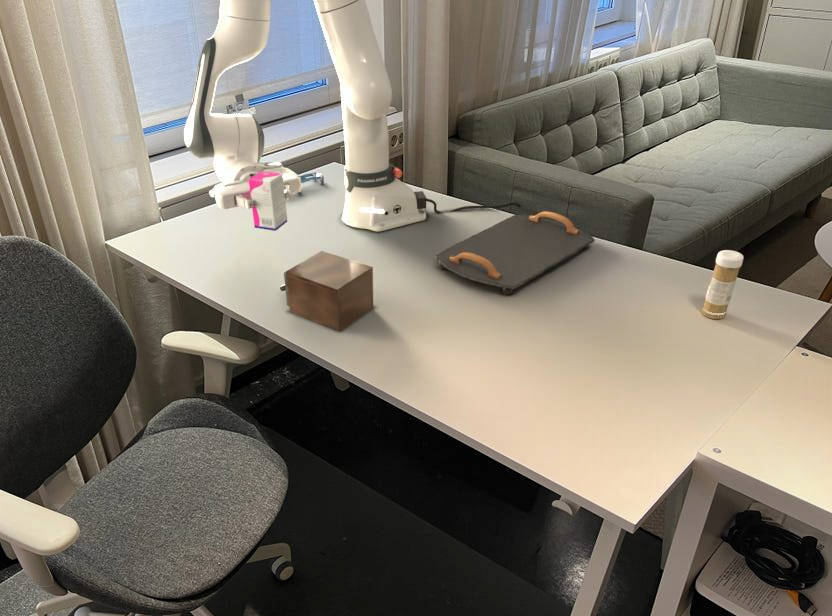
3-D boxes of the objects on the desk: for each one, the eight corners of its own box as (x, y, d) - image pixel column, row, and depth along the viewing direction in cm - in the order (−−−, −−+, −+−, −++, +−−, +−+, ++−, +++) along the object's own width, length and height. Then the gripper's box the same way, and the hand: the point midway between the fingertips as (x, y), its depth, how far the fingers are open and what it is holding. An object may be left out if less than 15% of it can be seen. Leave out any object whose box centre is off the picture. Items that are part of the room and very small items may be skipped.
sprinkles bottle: (712, 306, 146) (729, 247, 138) (730, 316, 142) (749, 256, 135) (695, 312, 144) (712, 252, 137) (714, 322, 141) (732, 261, 133)
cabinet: (289, 311, 150) (285, 271, 145) (324, 289, 157) (321, 250, 152) (339, 331, 143) (337, 289, 138) (373, 307, 150) (372, 266, 145)
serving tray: (522, 220, 185) (524, 197, 181) (602, 245, 171) (606, 221, 167) (423, 270, 164) (424, 246, 160) (505, 304, 149) (508, 278, 146)
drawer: (273, 300, 153) (270, 267, 148) (305, 281, 159) (302, 249, 155) (332, 322, 144) (330, 289, 140) (363, 301, 151) (362, 269, 146)
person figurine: (311, 182, 217) (259, 188, 207) (311, 168, 215) (259, 173, 205) (331, 192, 210) (278, 199, 200) (332, 177, 207) (279, 183, 198)
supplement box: (288, 221, 163) (283, 172, 156) (275, 231, 159) (270, 182, 152) (266, 217, 165) (261, 170, 158) (253, 227, 161) (247, 179, 154)
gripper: (204, 177, 163) (223, 197, 152) (286, 160, 170) (309, 177, 159) (208, 203, 166) (227, 224, 156) (288, 185, 173) (311, 204, 163)
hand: (269, 200), depth 158 cm, fingers closed on supplement box, 8 cm apart
